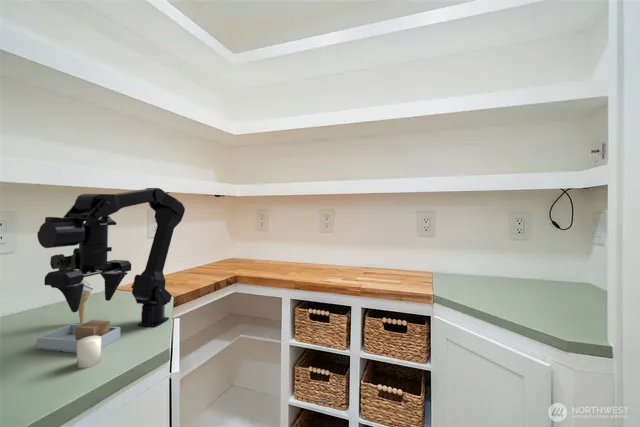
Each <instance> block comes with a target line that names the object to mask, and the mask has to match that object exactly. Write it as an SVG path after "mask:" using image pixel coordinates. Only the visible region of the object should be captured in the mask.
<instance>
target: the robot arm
mask: <svg viewBox="0 0 640 427" xmlns="http://www.w3.org/2000/svg"><path fill="white" fill-rule="evenodd" d="M146 203H148V205H149V207H150V208H151V209H152V210H153V211H154V219H155V223H156V229H155V233H154V236H153V240H152V245H151V247H150V251H149V254H148V258H147V262H146V265H145V268H144V270H143V271H142V272H141V274H135V276H134V278H133V283H132V286H131V287H130V289H132V290H131V295H132V296H133V297H134V299H135V302H136V305H137V304H141V316H140V317H141V318H140V320H141V321H139V322H138V323H137V322H136V325H137V326H141V327H143V326H144V327H158V326H159V325H162V324H163V323H165V322H166V321H169V319H170V318H169V317H167V316H165V315H166V314H165V309H166V308H165V306H166V305H168V304H169V303H170V302H171V300H172V297H173V295H172V294H171V292H169V291H168V290H167V289H166V278H165V275H164V268H165V265H166V261H167V257H168V253H169V249H170V247H171V242H172V239H173V238H172V237H173V234H174V230H175V228H176V227H177V226H178V225H179V224H180V223H181V221H182V219H183V217H184V214H185V211H186V207H185V206H184V204H183V202H181V201H180V200H178V199H177V198H176V197H174V196H172V195H170V194H168V193H167V192H165V191H164V189H161V188H159V187H147V188H145V189H138V190H132V191H125V192H120V193H114V194H112V193H82V194H80V195H78V196H77V198H76V199H75V202H74V204H73V205H72V206H71V207H70V208H69V209H68V211H67V212H66V214H64V216H62V217H58V216H46V217H45V218H44V222H43V223H42V224H41V225H40V227H39V230H38V231H37V241H38V243H39V245H40V246H41V247H43V248H45V249H52V248H62V247H72V246H78V247H76V248H75V247H74V248H73V250H72V252H73V253H72V254H71V255H68V256H67V255H66V256H65V255H64V254H63V253H61V254H54V255H52V256H50V263H49V264H50V268H51V269H52V270H53V271H50V272H47V274H46V275H45V276H44V282H43V283H44V284H43V285H44V286H50V287H51V288H52V289H57V290H59V291H60V292H61V293H62V295H63V296H64V299H65V300H66V303H67V305H68V306H69V309H70V311H71V312H72V313H77V312H79V311H78V308H79V305H80V300H81V296H82V292H83V287H84V284H79V283H81V282H82V280H83V278H84V279H85V278H87V277H92V276H95V275H101V277H102V278H103V280H104V298H105V299H104V300H105V301H111V300H112V298H113V296H114V294H115V293H116V291H117V289H118V287H119V285H120V284H121V282H122V281H123V279H124V278H125V277H126V275H128V272H131V271H132V263H131V261H129V260H127V259H126V260H123V259H113V260H112V259H111V260H108V252H112V250H113V248H112V246H109V245H108V244H109V242H108V241H109V226H116V225H117V222H116V221H115V220H113V219H112V218H111V216H110V215H113V214H115V213H118V212H119V211H120V210H122V209H124V208H128V207H132V206H136V205H142V204H146Z"/></svg>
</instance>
